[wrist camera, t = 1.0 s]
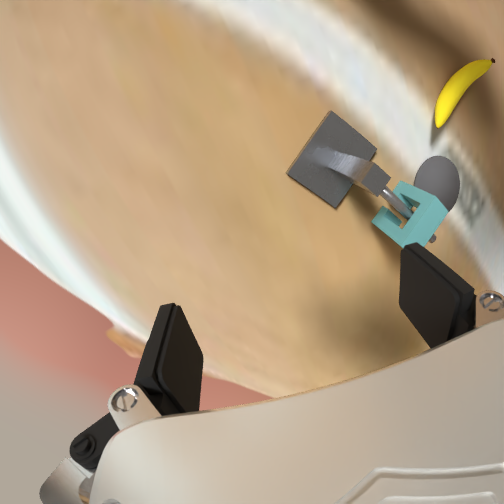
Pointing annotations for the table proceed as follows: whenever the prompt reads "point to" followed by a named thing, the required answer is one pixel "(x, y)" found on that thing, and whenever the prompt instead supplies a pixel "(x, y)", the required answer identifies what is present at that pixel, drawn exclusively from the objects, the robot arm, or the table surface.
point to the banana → (458, 88)
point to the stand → (342, 165)
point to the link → (420, 222)
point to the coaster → (439, 180)
